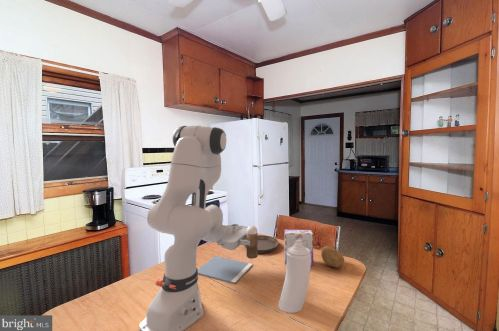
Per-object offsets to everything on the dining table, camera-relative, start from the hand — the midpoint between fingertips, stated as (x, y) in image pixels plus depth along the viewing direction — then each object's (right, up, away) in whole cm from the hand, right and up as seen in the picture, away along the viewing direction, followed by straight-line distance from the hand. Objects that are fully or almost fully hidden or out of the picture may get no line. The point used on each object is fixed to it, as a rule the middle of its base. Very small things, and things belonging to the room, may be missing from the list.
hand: (253, 240), depth 111 cm
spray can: (+15, -19, -18) cm, 30 cm away
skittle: (-1, -7, +1) cm, 8 cm away
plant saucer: (+5, -15, +34) cm, 37 cm away
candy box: (+23, -16, +14) cm, 31 cm away
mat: (-14, -17, +8) cm, 23 cm away
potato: (+39, -16, +11) cm, 43 cm away
